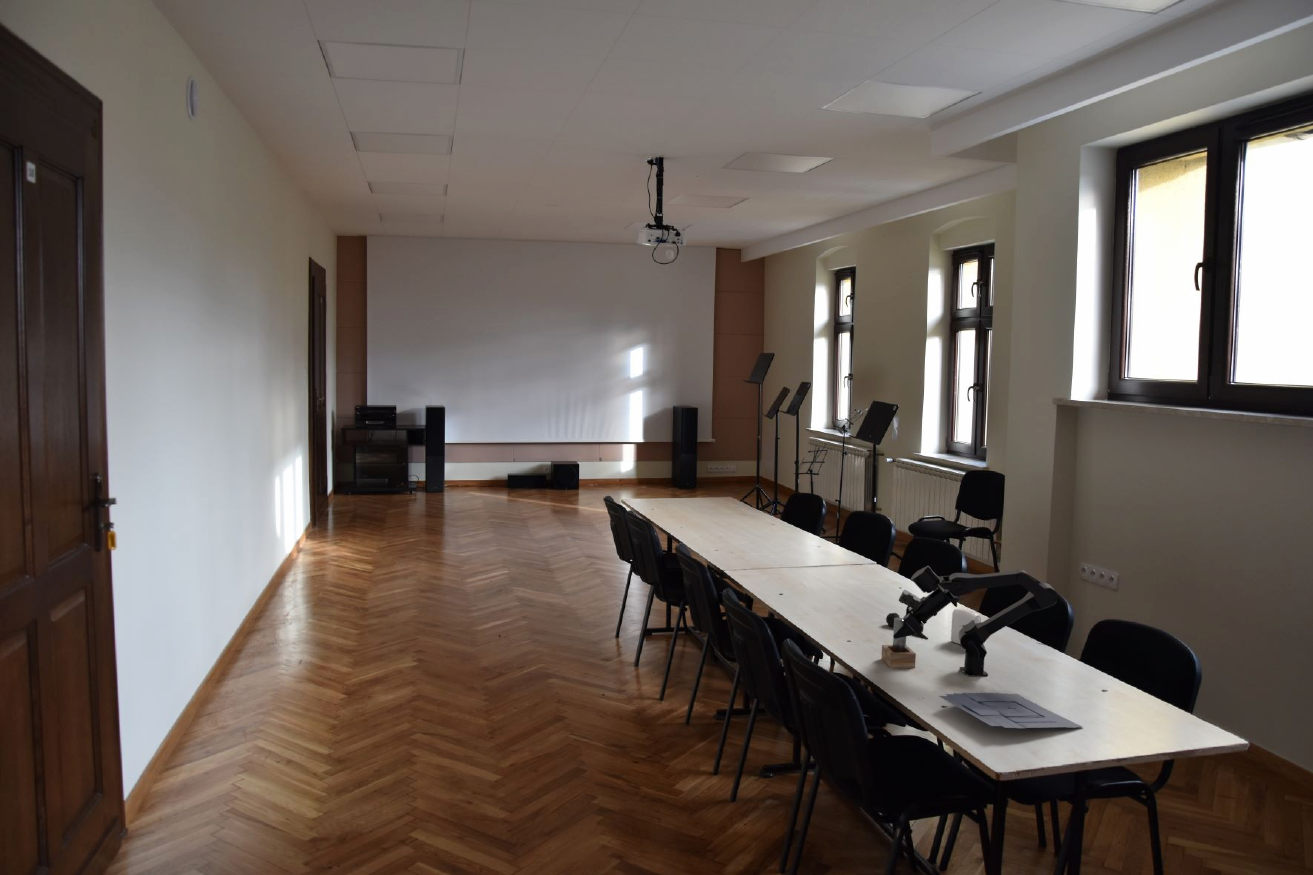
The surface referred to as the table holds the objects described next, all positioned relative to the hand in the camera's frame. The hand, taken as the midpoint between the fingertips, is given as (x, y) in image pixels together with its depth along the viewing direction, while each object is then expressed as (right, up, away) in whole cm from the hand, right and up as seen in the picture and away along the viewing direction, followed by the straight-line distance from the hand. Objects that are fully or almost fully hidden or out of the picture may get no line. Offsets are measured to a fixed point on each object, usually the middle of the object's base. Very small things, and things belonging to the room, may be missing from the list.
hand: (895, 633), depth 275 cm
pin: (+1, -8, 0) cm, 8 cm away
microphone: (+13, -7, +33) cm, 36 cm away
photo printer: (+29, -9, +20) cm, 37 cm away
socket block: (+1, -10, 0) cm, 10 cm away
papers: (+19, -14, -40) cm, 46 cm away
